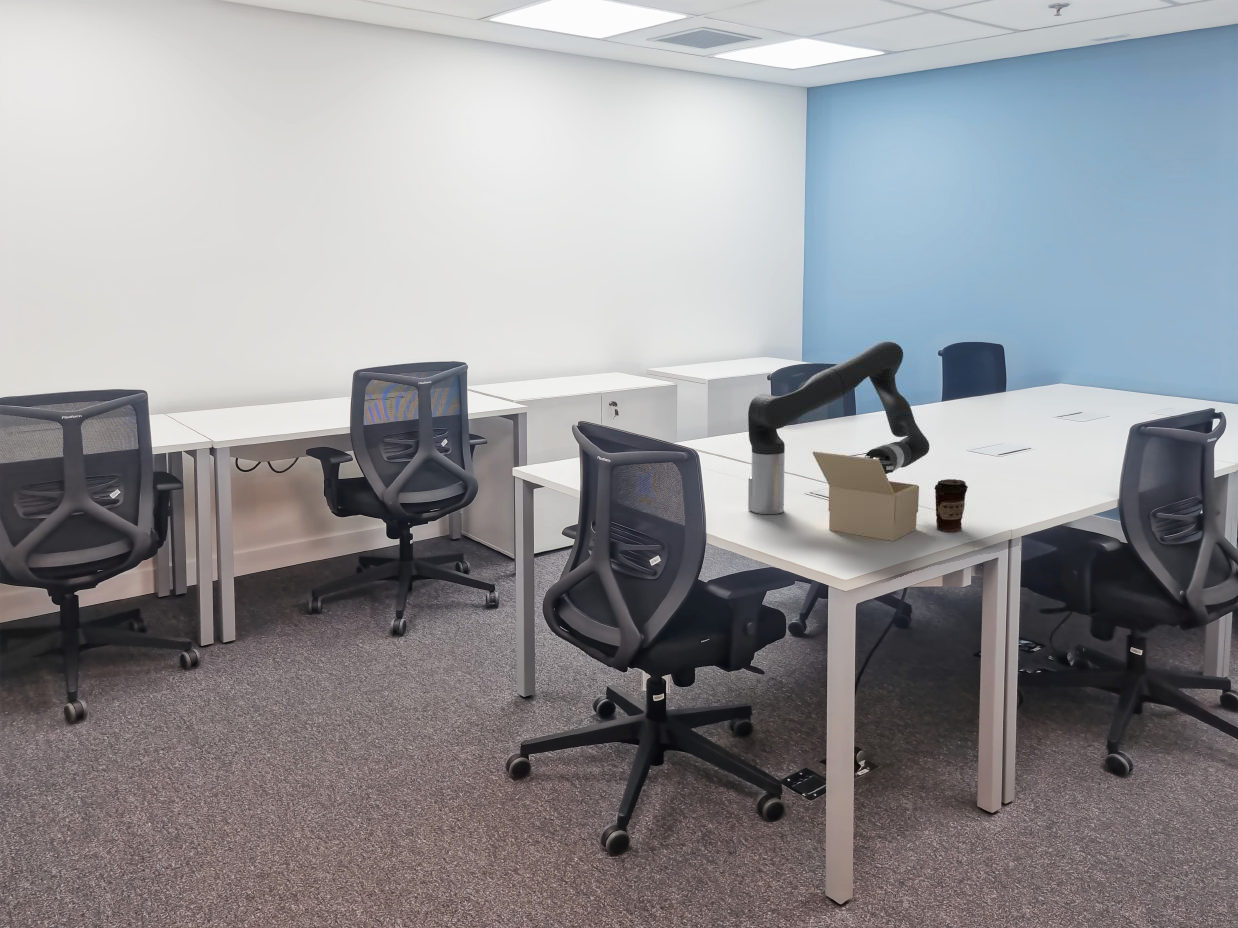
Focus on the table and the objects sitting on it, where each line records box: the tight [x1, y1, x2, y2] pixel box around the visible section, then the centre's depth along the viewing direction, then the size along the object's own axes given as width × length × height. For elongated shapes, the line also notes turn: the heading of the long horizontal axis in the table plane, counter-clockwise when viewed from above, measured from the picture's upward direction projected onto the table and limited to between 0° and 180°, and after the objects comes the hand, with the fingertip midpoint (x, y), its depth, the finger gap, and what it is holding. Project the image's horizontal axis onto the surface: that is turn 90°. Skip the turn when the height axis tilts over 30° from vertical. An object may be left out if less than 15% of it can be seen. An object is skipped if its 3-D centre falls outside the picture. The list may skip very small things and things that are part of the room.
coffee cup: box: [934, 478, 969, 532], centre depth 264 cm, size 9×8×13 cm
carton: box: [828, 480, 920, 542], centre depth 265 cm, size 19×14×12 cm
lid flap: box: [812, 451, 894, 495], centre depth 254 cm, size 18×14×1 cm
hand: (855, 471), depth 254 cm, fingers closed
